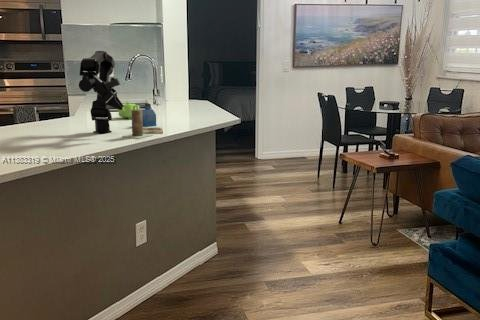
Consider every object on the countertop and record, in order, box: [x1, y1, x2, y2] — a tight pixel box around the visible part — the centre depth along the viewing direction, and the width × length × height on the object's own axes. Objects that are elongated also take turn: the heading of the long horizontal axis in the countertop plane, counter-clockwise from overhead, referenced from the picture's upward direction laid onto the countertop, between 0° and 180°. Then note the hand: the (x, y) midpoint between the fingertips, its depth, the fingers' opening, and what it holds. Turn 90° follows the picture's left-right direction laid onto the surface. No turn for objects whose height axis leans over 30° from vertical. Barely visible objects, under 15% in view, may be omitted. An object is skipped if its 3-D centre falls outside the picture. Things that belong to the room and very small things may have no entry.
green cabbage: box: [116, 101, 141, 120], centre depth 273 cm, size 12×12×10 cm
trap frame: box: [143, 126, 164, 135], centre depth 231 cm, size 11×11×1 cm
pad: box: [122, 133, 153, 140], centre depth 219 cm, size 10×10×1 cm
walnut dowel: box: [131, 109, 144, 136], centre depth 217 cm, size 5×5×12 cm
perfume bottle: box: [141, 102, 157, 128], centre depth 248 cm, size 6×6×12 cm
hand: (122, 108), depth 214 cm, fingers open, 9 cm apart
